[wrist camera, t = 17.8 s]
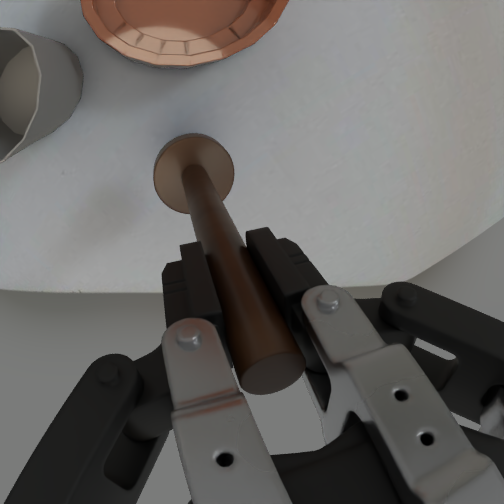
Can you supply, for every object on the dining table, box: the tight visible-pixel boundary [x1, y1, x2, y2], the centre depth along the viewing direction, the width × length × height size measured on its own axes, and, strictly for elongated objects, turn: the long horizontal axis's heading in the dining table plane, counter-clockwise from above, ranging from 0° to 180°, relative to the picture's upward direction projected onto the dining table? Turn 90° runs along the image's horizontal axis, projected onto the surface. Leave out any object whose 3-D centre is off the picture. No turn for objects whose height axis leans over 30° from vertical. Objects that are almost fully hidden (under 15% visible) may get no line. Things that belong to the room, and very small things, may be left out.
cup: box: [0, 27, 84, 163], centre depth 14 cm, size 8×8×10 cm
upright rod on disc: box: [153, 133, 306, 395], centre depth 13 cm, size 5×5×16 cm
